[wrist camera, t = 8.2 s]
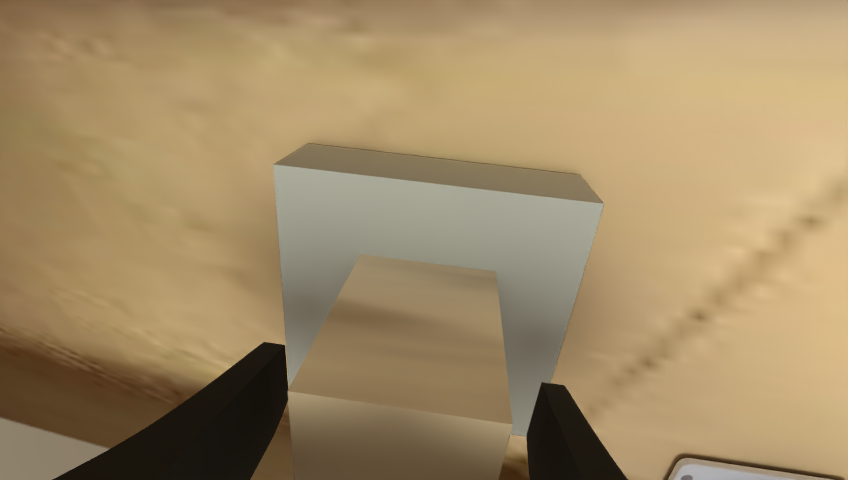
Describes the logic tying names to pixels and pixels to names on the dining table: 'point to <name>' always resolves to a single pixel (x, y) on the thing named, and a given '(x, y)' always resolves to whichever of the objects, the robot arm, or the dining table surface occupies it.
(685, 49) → the dining table surface
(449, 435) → the block
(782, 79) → the dining table surface
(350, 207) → the base
